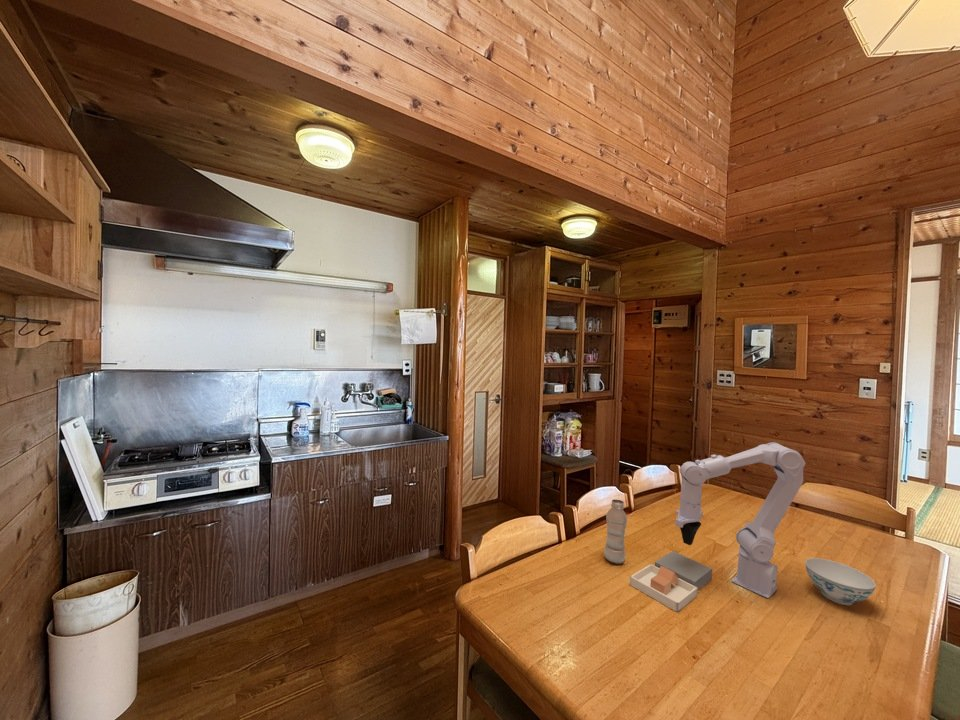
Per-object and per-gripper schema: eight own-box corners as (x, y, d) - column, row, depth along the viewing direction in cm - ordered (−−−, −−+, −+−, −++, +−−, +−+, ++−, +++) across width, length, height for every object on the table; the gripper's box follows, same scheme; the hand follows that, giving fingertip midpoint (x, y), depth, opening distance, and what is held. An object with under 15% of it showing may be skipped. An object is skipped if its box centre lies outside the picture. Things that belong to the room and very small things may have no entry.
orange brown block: (674, 587, 111) (678, 578, 112) (670, 581, 109) (674, 572, 110) (661, 580, 114) (665, 571, 115) (657, 574, 112) (660, 565, 113)
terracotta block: (664, 586, 106) (663, 596, 107) (671, 581, 109) (670, 591, 109) (650, 578, 110) (650, 588, 110) (657, 574, 112) (657, 584, 112)
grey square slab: (711, 579, 117) (712, 568, 116) (694, 593, 109) (695, 581, 109) (672, 561, 126) (673, 550, 126) (654, 572, 119) (654, 561, 119)
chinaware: (862, 593, 113) (864, 568, 113) (882, 623, 100) (885, 595, 100) (798, 576, 121) (800, 552, 121) (809, 602, 108) (812, 576, 108)
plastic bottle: (626, 568, 121) (630, 506, 120) (604, 564, 122) (608, 504, 121) (623, 557, 127) (626, 499, 126) (602, 554, 128) (606, 496, 128)
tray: (697, 596, 108) (697, 587, 108) (677, 612, 101) (678, 603, 101) (650, 571, 119) (650, 563, 119) (629, 584, 112) (630, 576, 112)
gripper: (687, 492, 126) (685, 532, 126) (666, 501, 117) (663, 544, 117) (710, 499, 120) (707, 541, 121) (690, 509, 111) (687, 554, 112)
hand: (687, 543), depth 119 cm, fingers closed
